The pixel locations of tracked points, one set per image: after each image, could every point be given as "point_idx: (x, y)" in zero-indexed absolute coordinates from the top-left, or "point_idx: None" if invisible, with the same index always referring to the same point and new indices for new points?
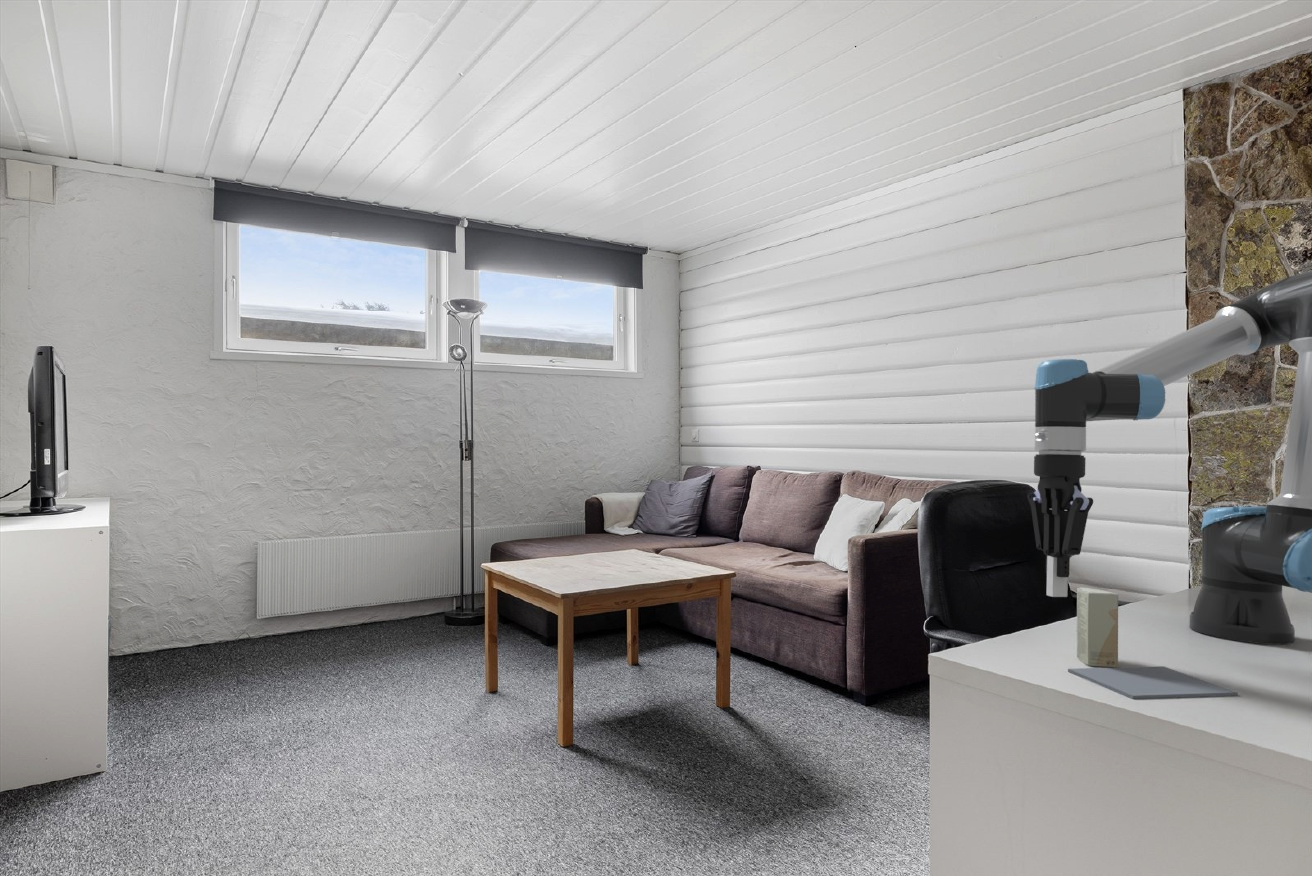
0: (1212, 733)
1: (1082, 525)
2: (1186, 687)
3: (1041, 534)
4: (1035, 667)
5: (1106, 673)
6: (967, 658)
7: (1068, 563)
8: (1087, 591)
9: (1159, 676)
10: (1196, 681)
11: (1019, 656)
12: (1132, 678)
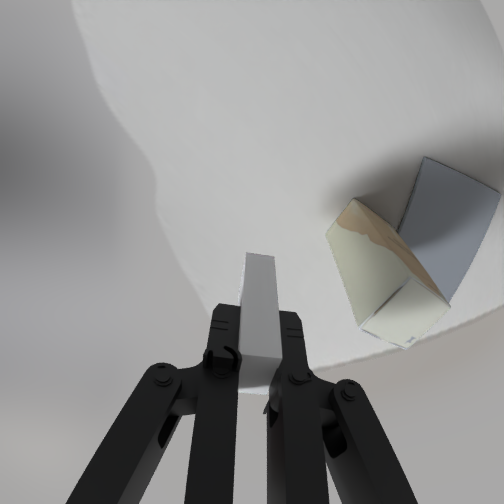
0: (488, 312)
1: (402, 497)
2: (471, 234)
3: (161, 451)
4: (333, 324)
5: None
6: None
7: (304, 355)
8: (399, 344)
9: (443, 221)
10: (472, 196)
11: (285, 309)
12: (427, 264)
